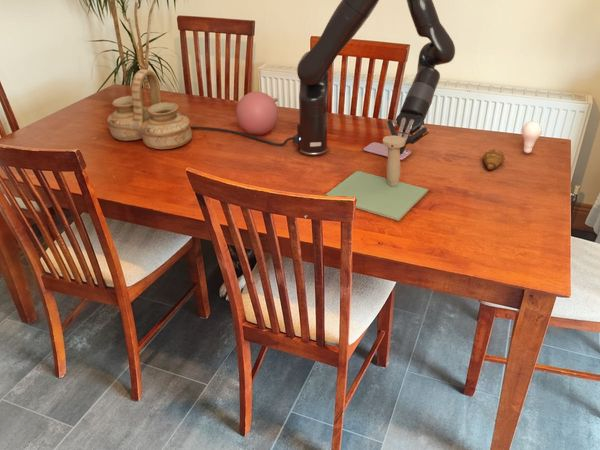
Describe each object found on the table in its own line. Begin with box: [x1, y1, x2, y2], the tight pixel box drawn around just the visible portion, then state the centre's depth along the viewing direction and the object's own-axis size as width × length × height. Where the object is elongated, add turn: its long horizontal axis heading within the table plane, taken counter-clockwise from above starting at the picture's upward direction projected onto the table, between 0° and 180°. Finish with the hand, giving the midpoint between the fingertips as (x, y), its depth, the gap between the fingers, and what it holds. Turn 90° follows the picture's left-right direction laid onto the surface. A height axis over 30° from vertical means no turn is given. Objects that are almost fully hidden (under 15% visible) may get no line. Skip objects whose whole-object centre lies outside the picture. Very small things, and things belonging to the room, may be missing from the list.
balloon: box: [235, 91, 279, 136], centre depth 201 cm, size 15×20×15 cm
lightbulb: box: [521, 120, 543, 154], centre depth 181 cm, size 6×6×11 cm
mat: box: [324, 170, 429, 222], centre depth 161 cm, size 24×20×1 cm
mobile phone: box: [363, 141, 412, 161], centre depth 186 cm, size 8×1×15 cm
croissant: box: [482, 148, 506, 171], centre depth 176 cm, size 14×7×5 cm, turn 155°
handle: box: [382, 135, 406, 187], centre depth 160 cm, size 5×6×15 cm
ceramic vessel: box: [106, 68, 193, 150], centre depth 195 cm, size 34×18×25 cm, turn 61°
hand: (397, 153), depth 160 cm, fingers closed
